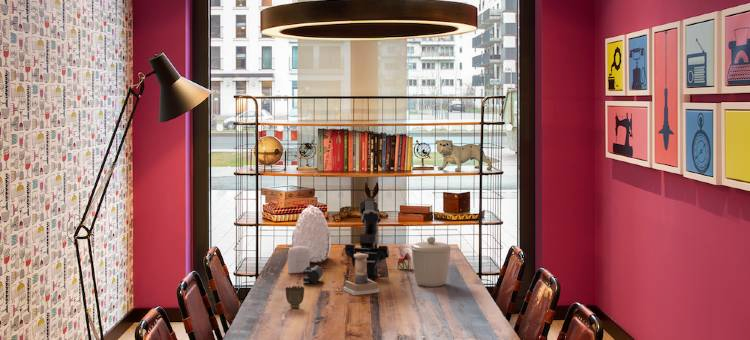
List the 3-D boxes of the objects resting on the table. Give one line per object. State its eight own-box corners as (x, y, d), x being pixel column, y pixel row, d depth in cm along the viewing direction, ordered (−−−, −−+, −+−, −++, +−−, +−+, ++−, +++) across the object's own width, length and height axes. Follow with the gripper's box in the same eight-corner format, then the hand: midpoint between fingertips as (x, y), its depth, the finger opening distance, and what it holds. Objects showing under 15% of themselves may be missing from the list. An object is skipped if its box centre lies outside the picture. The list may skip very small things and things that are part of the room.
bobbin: (361, 284, 370) (361, 252, 368) (371, 287, 365) (371, 254, 364) (350, 287, 365) (350, 254, 364) (360, 289, 361) (360, 256, 359)
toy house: (412, 270, 411) (412, 253, 410) (398, 271, 410) (397, 254, 409) (410, 268, 416) (410, 251, 416) (396, 268, 416) (396, 251, 415)
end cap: (318, 285, 377) (319, 270, 376) (302, 284, 377) (302, 269, 377) (323, 280, 387) (323, 265, 386) (307, 280, 387) (307, 265, 387)
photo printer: (307, 270, 408) (307, 244, 407) (310, 272, 404) (310, 246, 403) (286, 272, 403) (286, 246, 402) (290, 274, 399) (289, 247, 398)
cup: (285, 305, 339) (285, 285, 339) (304, 305, 340) (304, 285, 339) (285, 310, 332) (285, 289, 331) (304, 310, 333) (304, 289, 332)
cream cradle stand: (368, 287, 372) (368, 278, 372) (379, 292, 363) (379, 282, 363) (343, 290, 367) (343, 281, 366) (354, 295, 358) (354, 285, 357)
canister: (424, 278, 391) (424, 232, 390) (459, 283, 381) (459, 236, 379) (401, 285, 377) (402, 237, 375) (437, 291, 366) (438, 241, 365)
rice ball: (295, 255, 447) (295, 201, 445) (332, 255, 447) (332, 201, 445) (289, 265, 419) (289, 208, 417) (328, 266, 419) (328, 208, 417)
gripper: (345, 225, 375) (339, 255, 366) (388, 227, 371) (382, 257, 362) (350, 240, 384) (343, 270, 374) (391, 242, 380) (386, 272, 370)
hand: (363, 267), depth 370 cm, fingers open, 9 cm apart
